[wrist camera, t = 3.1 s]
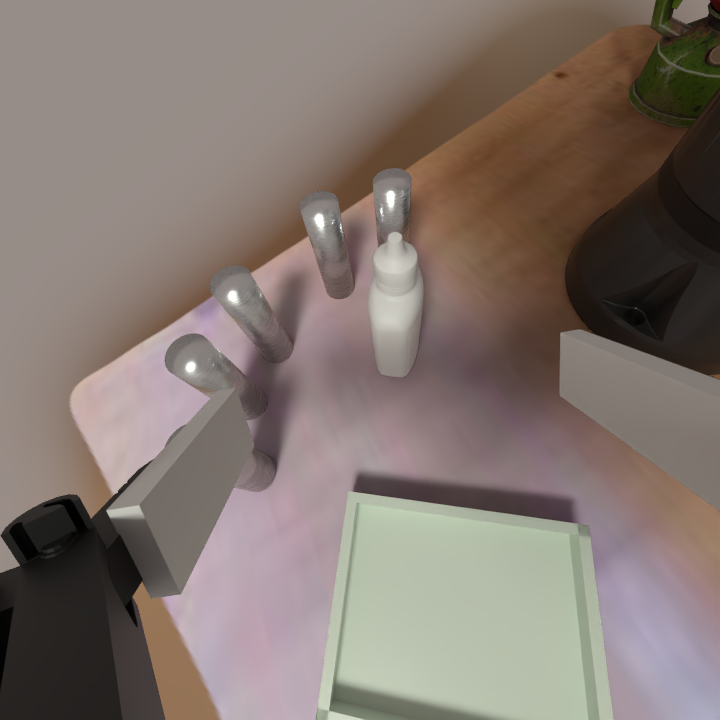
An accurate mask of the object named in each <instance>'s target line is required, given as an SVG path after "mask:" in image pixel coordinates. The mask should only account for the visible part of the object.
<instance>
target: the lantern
mask: <svg viewBox="0 0 720 720" xmlns="http://www.w3.org/2000/svg"><path fill="white" fill-rule="evenodd" d="M710 1H711V2H710V4H709V5H708V10H709V14H708V17H705V18H702V19H700V20H697V21H694V22H691V23H688V24H685V23H683V22H681V21H679V20H677V19H674V18H672V14H673V10H674V9H677V8H678V6H679V5H680V3H681V2H682V0H656V3H655V7H654V12H653V17H652V21H651V26H650V28H652V29H653V30H655V31H656V32H658V33H659V34H661V35H662V36H663V37H662V38H661V39H660V40H659V41H658V43H657V45H656V46H655V48H654V50H653V52H652V54H651V56H650V58H649V59H648V61H647V63H646V65H645V67H644V69H643V71H642V73H641V74H640V76H639V77H638V78H637V79H636V80H635V82H634V83H633V84H632V86H631V87H630V89H629V101H630V103H631V104H632V105H633V106H634V108H635V109H636V110H637V111H638V112H639V113H641V114H643V115H644V116H646V117H648V118H650V119H651V120H653V121H657V122H660V123H664V124H667V125H671V126H675V127H691V125H692V124H693V123H694V121H695V120H696V119H697V117H698V116H699V115H700V113H701V112H702V111H703V109H704V108H705V106H706V105H707V104H708V102H709V101H710V100H711V98H712V97H713V95H714V94H715V93H716V91H717V90H718V89H719V87H720V0H710Z"/></svg>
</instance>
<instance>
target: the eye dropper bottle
mask: <svg viewBox="0 0 720 720" xmlns="http://www.w3.org/2000/svg"><path fill="white" fill-rule="evenodd" d="M373 265H374V277H373V279H372V282H371V285H370V289H369V295H368V311H369V319H370V327H371V333H372V340H373V347H374V353H375V360H376V365H377V368H378V371H379V373H380V374H382V375H385V376H392V377H405V376H406V375H407V374H408V373H409V372H410V370H411V368H412V366H413V364H414V362H415V359H416V356H417V352H418V347H419V337H420V328H421V318H422V308H423V298H424V282H423V277H422V273H421V270H420V268H419V266H418V254H417V251H416V249H415V248H414V247H413V246H412V245H410V244H409V243H407V242H404V241H403V239H402V235H401V234H400V233H398V232H393V233H391V234H389V236H388V240H387V242H386V243H384V244H382V245H381V246H379V247H378V249H376V251H375V253H374V256H373Z"/></svg>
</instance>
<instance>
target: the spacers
mask: <svg viewBox="0 0 720 720" xmlns="http://www.w3.org/2000/svg"><path fill="white" fill-rule="evenodd" d="M373 190H374V203H375V215H376V227H377V240H378V247H379V246H381V245H382V244H384V243H386V242H387V240H388V236H389V234H391V233H393V232H398V233H400V234H401V235H402V239H403V241H404V242H407V243H409V235H410V205H411V176H410V175H409V173H407V172H406V171H404V170H402V169H398V168H390V169H386V170H383V171H381V172H379V173H378V174H377V175H376V176H375V177H374V180H373ZM300 211H301V213H302V217H303V220H304V223H305V226H306V229H307V232H308V236H309V239H310V242H311V245H312V248H313V251H314V254H315V257H316V260H317V264H318V267H319V270H320V273H321V276H322V279H323V282H324V285H325V288H326V292H327V294H328V295H329V296H330V297H332V298H335V299H343V298H346V297H348V296H349V295H350V294H351V293H352V292H353V290H354V282H353V276H352V271H351V266H350V261H349V256H348V251H347V246H346V240H345V235H344V230H343V225H342V220H341V215H340V210H339V204H338V200H337V198H336V196H335V195H334V194H332V193H330V192H327V191H318V192H314V193H312V194H309V195H308V196H306V197H305V198H304V199H303V200H302V202H301V204H300ZM210 290H211V293H212V294H213V296H214V297H215V298H216V299H217V300H218V302H219V303H220V304H221V305H222V306H223V308H224V309H225V310H226V311H227V312H228V314H229V315H230V316H231V317H232V319H233V320H234V321H235V322H236V323H237V325H238V326H239V327H240V328H241V329H242V331H243V332H244V333H245V334H246V335H247V337H248V338H249V339H250V340H251V341H252V343H253V344H254V345H255V346H256V348H257V349H258V350H259V351H260V352H261V354H262V355H263V356H264V357H265V358H266V359H267V360H268V361H269V362H272V363H279V362H282V361H284V360H286V359H287V358H288V357H289V356H290V355H291V353H292V350H293V344H292V342H291V340H290V338H289V337H288V335H287V333H286V332H285V330H284V328H283V327H282V325H281V323H280V322H279V320H278V318H277V317H276V315H275V313H274V312H273V310H272V308H271V307H270V305H269V303H268V302H267V300H266V299H265V297H264V295H263V294H262V292H261V290H260V289H259V287H258V285H257V284H256V282H255V280H254V279H253V277H252V275H251V274H250V272H249V271H248V270H247V269H246V268H245V267H242V266H237V265H233V266H228V267H226V268H223V269H221V270H220V271H219V272H217V273H216V274H215V275H214V277H213V278H212V280H211V283H210ZM165 365H166V368H167V369H168V370H169V371H170V372H171V373H172V374H174V375H175V376H177V377H179V378H180V379H182V380H183V381H185V382H186V383H188V384H189V385H191V386H192V387H194V388H195V389H197V390H199V391H200V392H202V393H203V394H205V395H206V396H208V397H209V398H212V397H213V396H214V395H215V393H216V392H217V391H220V390H226V389H232V388H236V389H237V392H238V395H239V398H240V402H241V405H242V408H243V411H244V414H245V417H246V420H253V419H255V418H257V417H259V416H260V415H261V414H262V413H263V412H264V410H265V409H266V406H267V397H266V395H265V394H264V392H263V391H261V390H260V389H259V388H258V387H257V386H256V385H255V384H254V383H253V382H252V381H251V380H250V379H249V378H248V377H247V376H246V375H244V374H243V373H242V372H241V371H240V370H239V369H238V368H237V367H236V366H235V365H234V364H233V363H232V362H231V361H230V360H229V359H228V358H226V357H225V356H224V355H223V354H222V353H221V352H220V351H219V350H218V349H217V348H216V347H215V346H214V345H213V344H212V343H211V342H209V341H208V340H207V339H206V338H205V337H204V336H202V335H200V334H187V335H184V336H182V337H180V338H178V339H177V340H175V341H174V342H173V343H172V344H171V345H170V347H169V348H168V350H167V352H166V355H165ZM185 426H186V425H184V426H182V427H180V428H179V429H177V430H176V431H175V432H174V433H173V434H172V435H171V436H170V438H169V439H168V441H167V443H166V445H165V447H166V446H167V445H168V444H169V443H170V442H171V441H172V439H173V438H174V437H175V436H176V435H177V434H178V433H179V432H180V431H181V430H182V429H183V428H184V427H185ZM275 475H276V466H275V463H274V461H273V460H272V459H271V458H270V457H269V456H267V455H265V454H263V453H261V452H259V451H257V450H255V449H252V451H251V453H250V455H249V457H248V459H247V462H246V464H245V466H244V468H243V470H242V472H241V474H240V476H239V478H238V480H237V482H236V484H235V486H234V488H238V489H243V490H248V491H253V492H259V491H263V490H265V489H266V488H268V487H269V486H270V485H271V483H272V482H273V480H274V478H275Z"/></svg>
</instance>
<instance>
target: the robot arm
mask: <svg viewBox="0 0 720 720" xmlns="http://www.w3.org/2000/svg"><path fill="white" fill-rule="evenodd" d="M566 286H567V290H568V294H569V297H570V299H571V302H572V304H573V306H574V308H575V309H576V311H577V313H578V314H579V316H580V317H581V318H582V320H583V321H584V322H585V323H586V324H587V326H588V327H589V328H590V329H591V330H592V331H593V332H594V333H595V334H596V335H595V334H592V333H589V332H586V331H584V330H581V329H578V330H572V331H566V332H561V333H560V395H559V396H561V397H562V398H563V399H565V400H566V401H568V402H569V403H570V404H572V405H573V406H575V407H576V408H577V409H579V410H580V411H581V412H583V413H584V414H586V415H587V416H588V417H590V418H591V419H593V420H594V421H595V422H597V423H598V424H599V425H601V426H602V427H604V428H605V429H606V430H608V431H609V432H611V433H612V434H613V435H615V436H616V437H618V438H619V439H620V440H622V441H623V442H624V443H626V444H627V445H629V446H630V447H631V448H633V449H634V450H636V451H637V452H638V453H640V454H641V455H642V456H644V457H645V458H647V459H648V460H649V461H651V462H652V463H654V464H655V465H656V466H658V467H659V468H660V469H662V470H663V471H665V472H666V473H667V474H669V475H670V476H672V477H673V478H674V479H676V480H677V481H678V482H680V483H681V484H683V485H684V486H685V487H687V488H688V489H690V490H691V491H692V492H694V493H695V494H696V495H698V496H699V497H701V498H702V499H703V500H705V501H706V502H708V503H709V504H710V505H712V506H713V507H715V508H716V509H717V510H719V511H720V380H719V379H717V378H714V377H711V376H708V375H716V374H720V87H719V89H718V90H717V91H716V93H715V94H714V95H713V97H712V98H711V100H710V101H709V102H708V104H707V105H706V106H705V108H704V109H703V111H702V112H701V113H700V115H699V116H698V117H697V119H696V120H695V121H694V123H693V124H692V125H691V127H690V128H689V129H688V131H687V132H686V133H685V135H684V136H683V137H682V139H681V140H680V142H679V143H678V144H677V146H676V147H675V148H674V150H673V151H672V152H671V154H670V155H669V156H668V158H667V159H666V160H665V162H664V163H663V165H662V166H661V167H660V169H659V170H658V171H657V172H656V173H655V174H654V175H652V176H651V177H650V178H649V179H647V180H646V181H645V182H644V183H643V184H641V185H640V186H639V187H638V188H637V189H635V190H634V191H633V192H632V193H630V194H629V195H628V196H627V197H626V198H624V199H623V200H622V201H621V202H620V203H619V204H617V205H616V206H615V207H614V208H612V209H610V210H609V211H607V212H606V213H605V214H603V215H602V216H601V217H599V218H598V219H597V220H596V221H594V222H593V223H592V225H591V226H590V227H589V228H588V229H587V230H586V231H585V233H584V234H583V236H582V237H581V239H580V240H579V242H578V243H577V245H576V247H575V248H574V250H573V251H572V253H571V255H570V257H569V260H568V263H567V267H566ZM597 335H598V336H597ZM253 447H254V443H253V440H252V437H251V433H250V430H249V427H248V424H247V421H246V417H245V414H244V411H243V408H242V405H241V402H240V398H239V395H238V392H237V389H236V388H232V389H226V390H220V391H217V392H216V393H215V395H214V396H213V397H212V398H211V399H210V400H209V401H208V402H207V403H206V404H205V405H204V406H203V407H202V408H201V410H200V411H199V412H198V413H197V414H196V415H195V416H194V417H193V418H192V419H191V420H190V421H189V422H188V423H187V424H186V426H185V427H184V428H183V429H182V430H181V431H180V432H179V433H178V434H177V435H176V436H175V437H174V438H173V439H172V441H171V442H170V443H169V444H168V445H167V446H166V447H165V448H164V449H163V450H162V451H161V452H160V453H159V454H158V455H157V457H156V458H155V459H153V460H152V461H150V462H149V463H147V464H146V465H144V466H143V467H142V468H140V469H139V470H138V471H137V472H136V473H135V474H134V475H133V476H132V477H131V478H130V479H129V480H128V481H127V483H126V484H124V485H123V486H122V487H121V488H120V489H119V490H118V493H116V494H115V495H114V496H113V497H112V498H111V499H110V500H109V501H108V502H107V503H106V504H105V505H104V506H103V507H102V508H101V509H100V510H99V511H98V512H97V513H96V514H95V515H94V516H93V518H92V519H91V518H90V516H89V514H88V513H87V511H86V509H85V507H84V505H83V503H82V502H81V500H80V498H79V497H78V496H77V495H70V494H69V495H65V496H60V497H56V498H54V499H51V500H49V501H46V502H43V503H41V504H40V505H38V506H36V507H34V508H32V509H30V510H28V511H27V512H25V513H24V514H22V515H21V516H19V517H18V518H16V519H15V520H14V521H13V522H12V523H10V524H9V525H8V526H7V527H6V528H5V530H4V531H3V533H2V534H1V537H2V538H3V540H4V541H5V543H6V545H7V546H8V548H9V549H10V551H11V552H12V554H13V555H14V557H15V558H16V560H17V561H18V563H19V564H20V566H19V567H16V568H13V569H10V570H8V571H5V572H2V573H0V720H165V716H164V712H163V708H162V704H161V700H160V696H159V692H158V687H157V683H156V679H155V675H154V671H153V668H152V663H151V659H150V655H149V651H148V646H147V643H146V638H145V634H144V630H143V627H142V622H141V618H140V614H139V610H138V606H137V604H136V602H135V601H134V599H133V597H132V596H133V595H134V593H135V591H136V590H137V588H138V587H139V585H140V584H141V582H143V584H144V586H145V588H146V590H147V592H148V593H149V596H150V598H151V599H152V598H158V597H165V596H172V595H179V594H181V593H182V591H183V589H184V587H185V585H186V583H187V581H188V579H189V577H190V575H191V573H192V571H193V569H194V567H195V564H196V562H197V560H198V558H199V556H200V554H201V552H202V550H203V548H204V546H205V544H206V542H207V540H208V538H209V536H210V534H211V532H212V530H213V528H214V526H215V524H216V522H217V520H218V518H219V516H220V514H221V512H222V510H223V508H224V506H225V504H226V502H227V500H228V498H229V496H230V494H231V492H232V490H233V488H234V486H235V484H236V482H237V480H238V478H239V476H240V474H241V472H242V470H243V468H244V466H245V464H246V462H247V459H248V457H249V455H250V453H251V451H252V449H253Z"/></svg>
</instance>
